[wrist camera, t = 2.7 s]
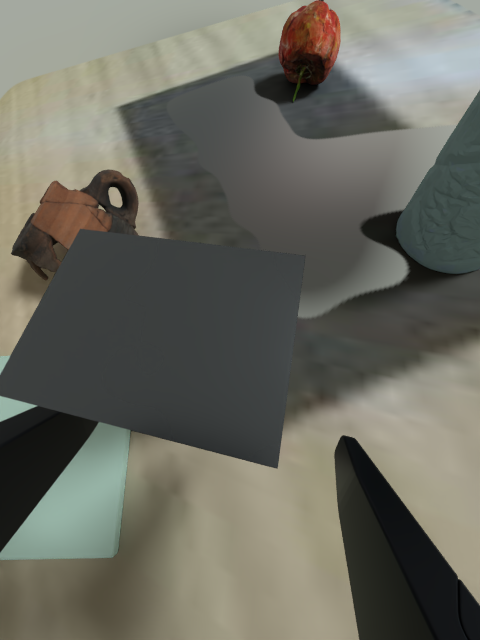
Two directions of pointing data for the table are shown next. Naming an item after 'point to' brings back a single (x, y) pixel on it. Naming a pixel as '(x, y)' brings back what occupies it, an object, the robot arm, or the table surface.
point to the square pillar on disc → (166, 341)
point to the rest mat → (76, 499)
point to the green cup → (448, 204)
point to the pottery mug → (75, 218)
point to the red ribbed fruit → (309, 44)
